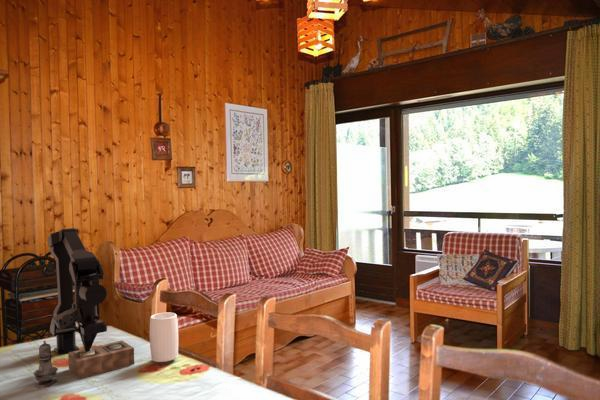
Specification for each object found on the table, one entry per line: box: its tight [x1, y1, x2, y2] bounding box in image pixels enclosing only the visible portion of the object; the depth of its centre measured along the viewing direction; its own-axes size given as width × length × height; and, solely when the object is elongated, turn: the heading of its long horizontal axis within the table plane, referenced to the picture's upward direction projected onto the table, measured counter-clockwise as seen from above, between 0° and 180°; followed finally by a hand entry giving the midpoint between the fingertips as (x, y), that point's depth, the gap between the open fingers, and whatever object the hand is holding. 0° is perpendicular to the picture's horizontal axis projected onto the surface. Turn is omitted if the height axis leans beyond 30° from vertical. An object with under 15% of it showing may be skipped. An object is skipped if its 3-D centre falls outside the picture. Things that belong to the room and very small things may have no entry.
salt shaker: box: [33, 340, 58, 389], centre depth 127 cm, size 6×6×12 cm
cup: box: [149, 311, 179, 363], centre depth 142 cm, size 8×8×14 cm
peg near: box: [80, 349, 95, 357], centre depth 136 cm, size 4×4×5 cm
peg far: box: [108, 344, 122, 350], centre depth 141 cm, size 4×4×5 cm
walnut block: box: [67, 340, 135, 380], centre depth 139 cm, size 16×10×5 cm, turn 131°
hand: (87, 351), depth 136 cm, fingers closed, pressing on peg near
